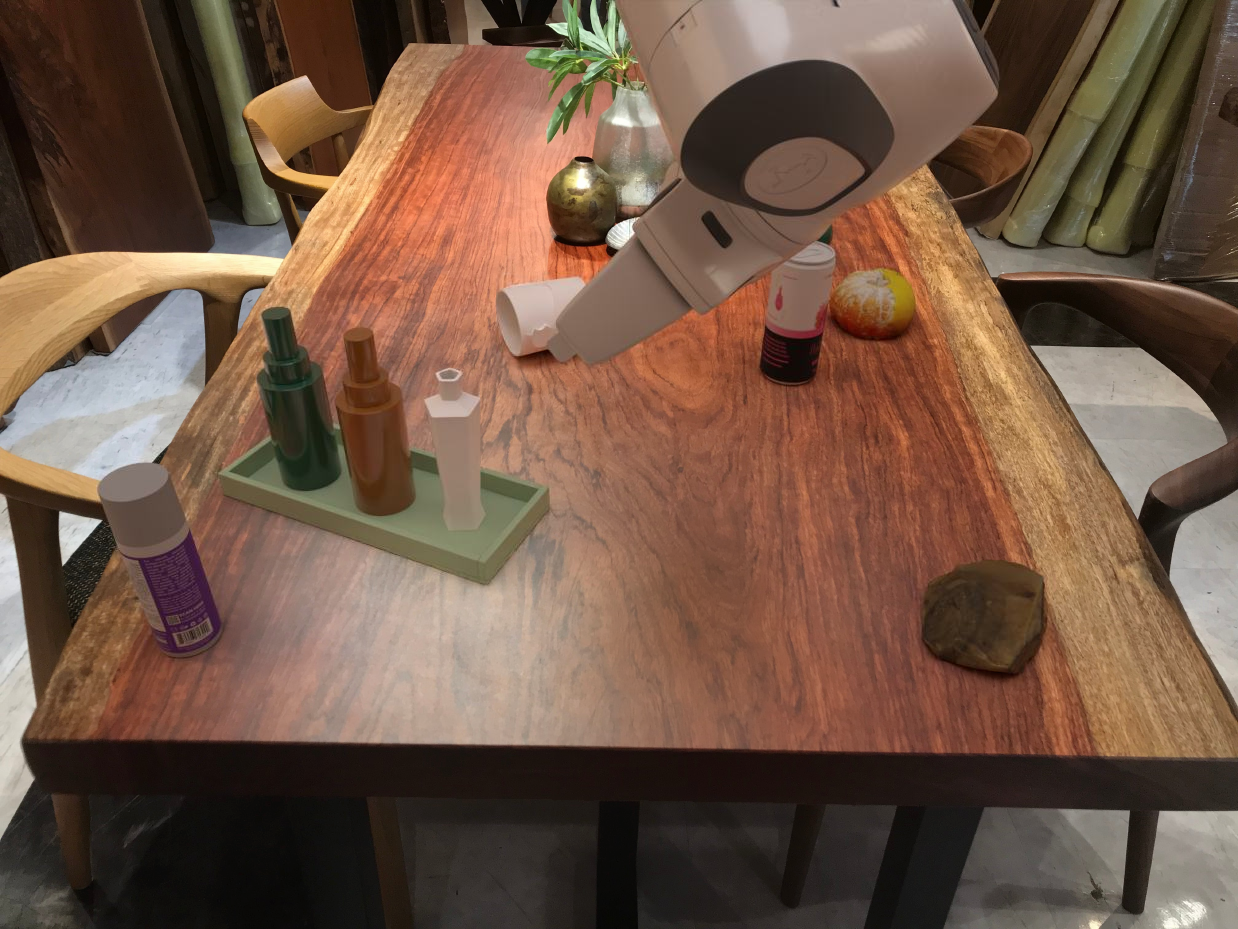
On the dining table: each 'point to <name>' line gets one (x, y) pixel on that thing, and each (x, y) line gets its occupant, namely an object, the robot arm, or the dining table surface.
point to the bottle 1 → (296, 408)
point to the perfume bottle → (457, 450)
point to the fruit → (873, 304)
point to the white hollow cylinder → (533, 312)
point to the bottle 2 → (374, 431)
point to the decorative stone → (986, 615)
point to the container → (161, 558)
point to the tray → (411, 530)
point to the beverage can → (797, 315)
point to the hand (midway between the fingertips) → (588, 320)
